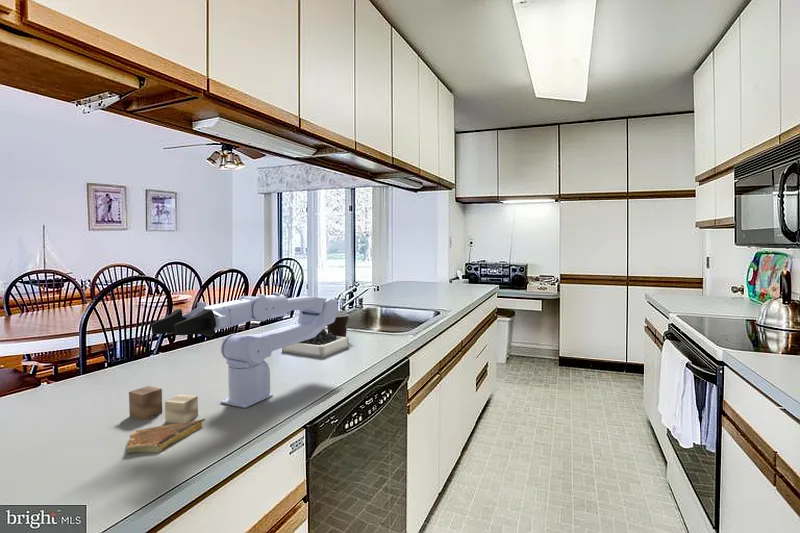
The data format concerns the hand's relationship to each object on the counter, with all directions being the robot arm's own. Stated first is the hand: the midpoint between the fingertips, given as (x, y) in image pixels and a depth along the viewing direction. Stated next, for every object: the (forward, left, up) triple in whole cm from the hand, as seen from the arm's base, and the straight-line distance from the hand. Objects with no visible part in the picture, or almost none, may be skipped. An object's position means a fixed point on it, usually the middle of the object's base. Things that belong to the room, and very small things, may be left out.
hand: (163, 329), depth 86 cm
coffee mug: (-84, -15, -21) cm, 88 cm away
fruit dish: (-68, -14, -21) cm, 72 cm away
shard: (+2, +1, -21) cm, 22 cm away
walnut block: (-4, -12, -21) cm, 24 cm away
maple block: (-6, -3, -21) cm, 22 cm away
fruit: (-68, -14, -20) cm, 72 cm away
